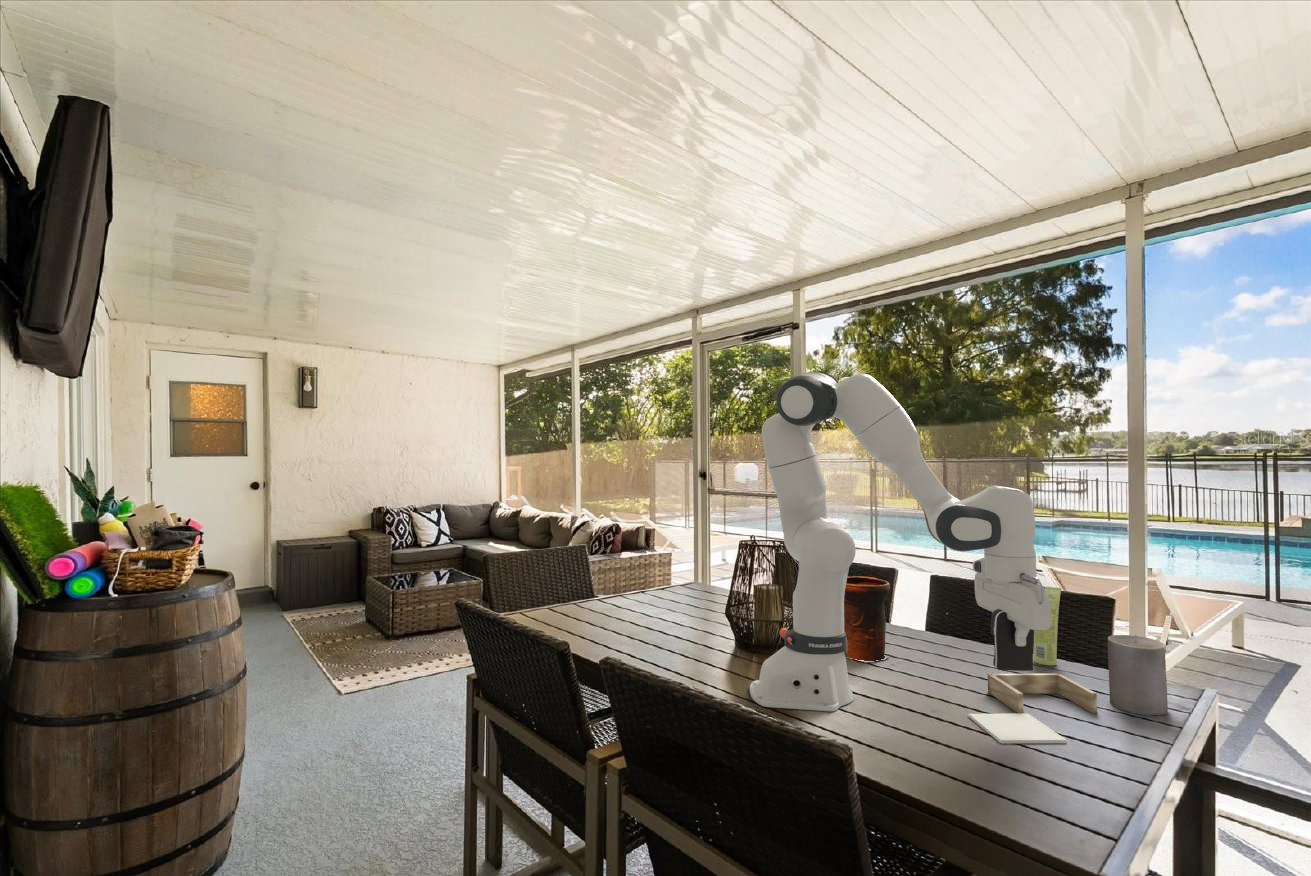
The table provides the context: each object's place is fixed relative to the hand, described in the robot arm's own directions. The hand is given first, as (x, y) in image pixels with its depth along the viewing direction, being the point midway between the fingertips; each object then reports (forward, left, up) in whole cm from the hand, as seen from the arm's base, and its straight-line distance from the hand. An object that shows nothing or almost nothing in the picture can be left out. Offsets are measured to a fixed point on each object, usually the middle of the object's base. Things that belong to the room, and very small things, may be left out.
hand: (1011, 641), depth 121 cm
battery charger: (0, 0, -6) cm, 6 cm away
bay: (+13, +13, -17) cm, 25 cm away
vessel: (-14, +47, -17) cm, 52 cm away
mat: (0, 0, -17) cm, 17 cm away
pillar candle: (+32, +10, -17) cm, 38 cm away
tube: (+30, +39, -17) cm, 52 cm away
